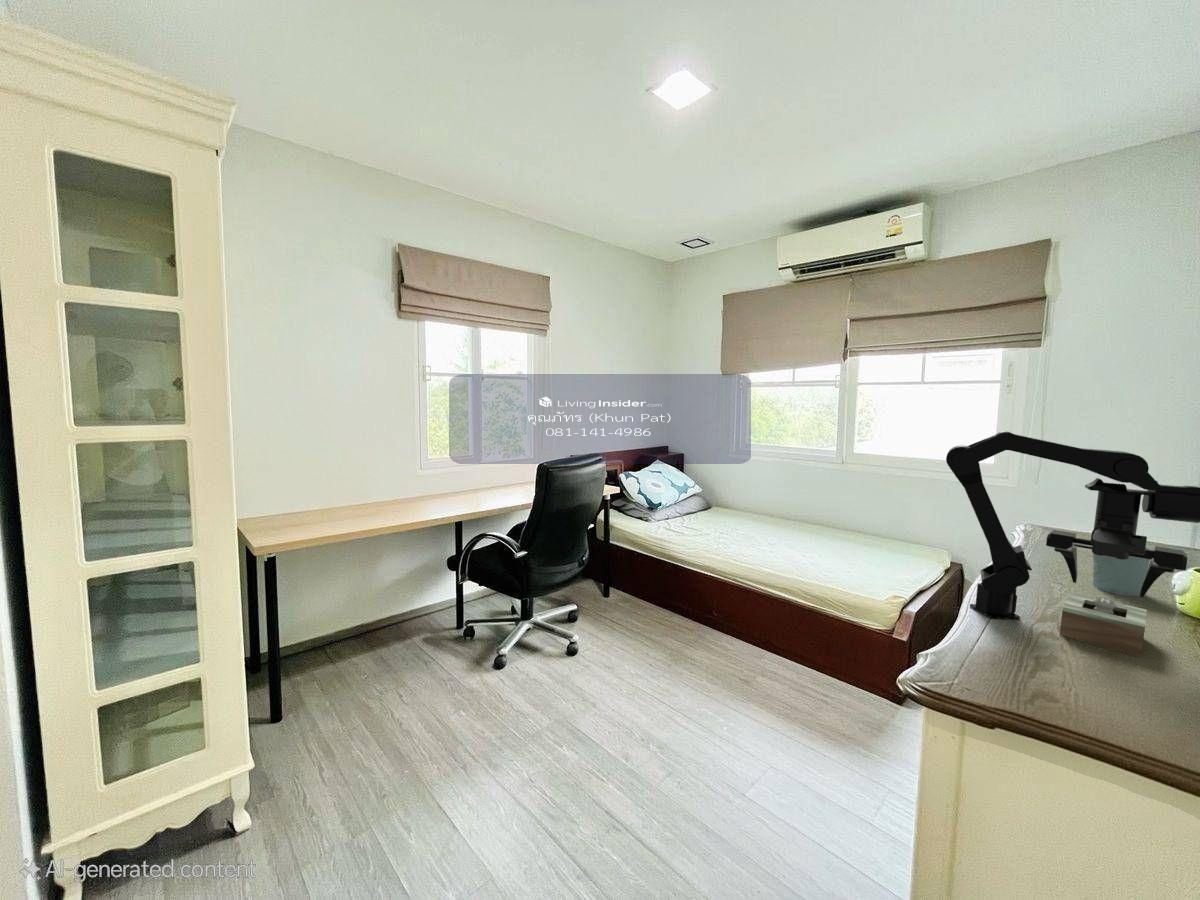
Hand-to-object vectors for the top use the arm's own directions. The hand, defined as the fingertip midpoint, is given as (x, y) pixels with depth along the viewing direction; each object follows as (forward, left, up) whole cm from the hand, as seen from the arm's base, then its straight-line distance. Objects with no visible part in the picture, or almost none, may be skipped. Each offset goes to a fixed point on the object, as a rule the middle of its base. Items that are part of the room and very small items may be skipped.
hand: (1106, 589), depth 94 cm
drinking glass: (+31, +25, -10) cm, 41 cm away
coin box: (0, 0, -10) cm, 10 cm away
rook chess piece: (0, 0, -10) cm, 10 cm away
